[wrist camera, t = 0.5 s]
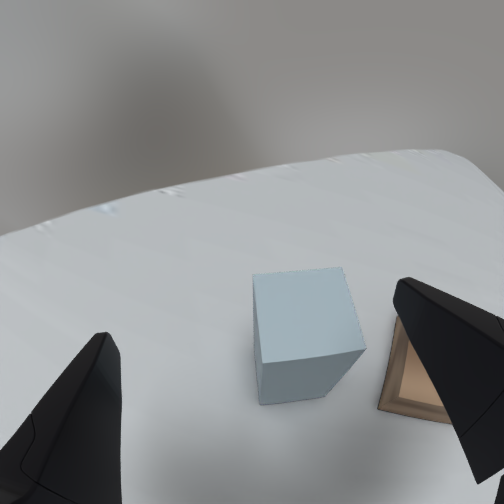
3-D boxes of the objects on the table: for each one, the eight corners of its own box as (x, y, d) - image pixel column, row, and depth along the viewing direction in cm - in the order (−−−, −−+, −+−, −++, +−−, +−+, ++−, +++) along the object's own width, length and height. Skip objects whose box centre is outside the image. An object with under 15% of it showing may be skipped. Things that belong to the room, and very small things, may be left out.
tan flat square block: (462, 425, 17) (490, 414, 14) (377, 408, 19) (398, 396, 16) (470, 339, 22) (493, 319, 19) (396, 317, 25) (414, 293, 22)
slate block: (324, 396, 21) (366, 348, 13) (259, 405, 20) (262, 363, 13) (313, 340, 24) (341, 267, 16) (253, 346, 24) (252, 274, 16)
